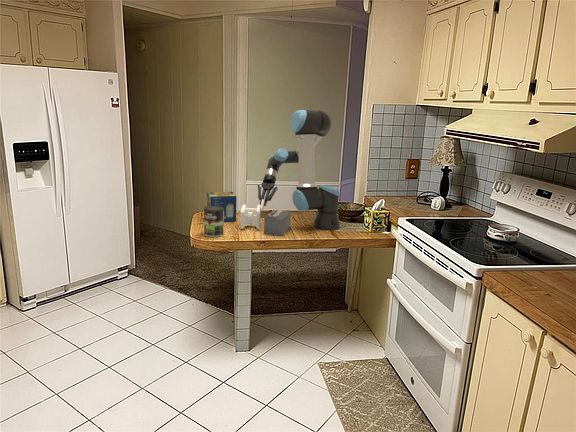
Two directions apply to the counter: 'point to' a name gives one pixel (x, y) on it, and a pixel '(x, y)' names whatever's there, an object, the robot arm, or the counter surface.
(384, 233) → the counter surface
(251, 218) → the cable organizer
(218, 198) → the protein box
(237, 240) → the counter surface
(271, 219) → the grey box
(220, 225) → the coffee can
